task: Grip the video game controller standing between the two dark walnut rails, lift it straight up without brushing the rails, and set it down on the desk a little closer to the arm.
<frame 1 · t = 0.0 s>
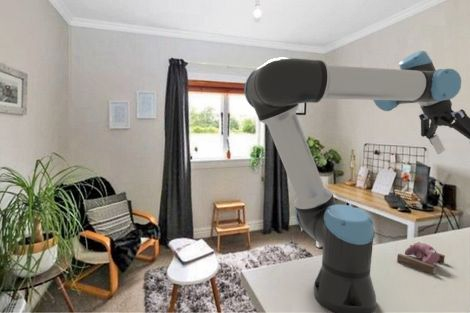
hand: (460, 154, 92), 36 cm above the table, tool tilted 35°, fingers open, 13 cm apart
dock: (420, 262, 94), on the table
video game controller: (421, 261, 94), on the table, touching dock
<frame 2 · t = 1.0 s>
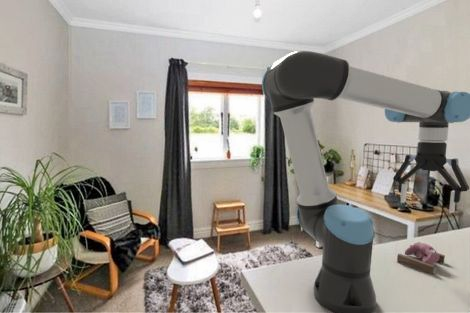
hand: (426, 206, 91), 19 cm above the table, tool pointing down, fingers open, 13 cm apart
nothing on the table moved.
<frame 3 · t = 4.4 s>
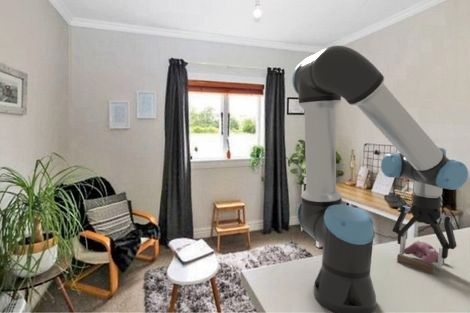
hand: (420, 260, 94), 1 cm above the table, tool pointing down, fingers closed on video game controller, 10 cm apart
video game controller: (420, 260, 94), on the table, touching gripper
when the fingers open (1 cm above the table, at t = 11.2 s): video game controller stays where it is, on the table.
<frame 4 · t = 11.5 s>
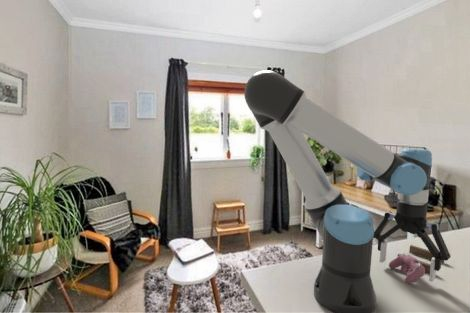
hand: (405, 270, 85), 2 cm above the table, tool pointing down, fingers open, 13 cm apart
video game controller: (405, 275, 86), on the table
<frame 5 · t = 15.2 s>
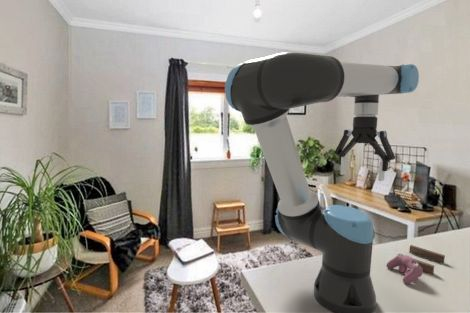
hand: (361, 177, 99), 27 cm above the table, tool pointing down, fingers open, 13 cm apart
nothing on the table moved.
at the end: video game controller inside the target area (0.6 cm from its centre), on the table; video game controller touching table; video game controller tilted 1° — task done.
